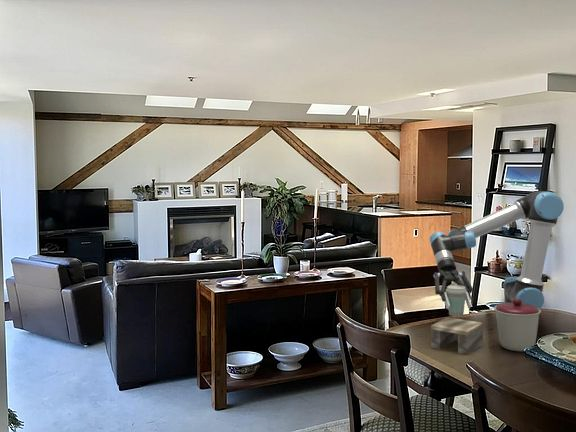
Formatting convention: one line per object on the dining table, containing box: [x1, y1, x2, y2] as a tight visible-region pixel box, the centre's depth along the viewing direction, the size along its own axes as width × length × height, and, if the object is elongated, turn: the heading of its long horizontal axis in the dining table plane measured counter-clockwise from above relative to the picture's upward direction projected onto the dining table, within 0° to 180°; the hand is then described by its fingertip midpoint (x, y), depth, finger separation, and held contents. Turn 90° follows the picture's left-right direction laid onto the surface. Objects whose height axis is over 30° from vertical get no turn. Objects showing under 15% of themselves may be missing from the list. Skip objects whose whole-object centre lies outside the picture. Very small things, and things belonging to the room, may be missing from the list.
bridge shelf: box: [430, 317, 484, 356], centre depth 235 cm, size 16×16×10 cm
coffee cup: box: [445, 284, 467, 317], centre depth 234 cm, size 8×9×12 cm
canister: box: [493, 298, 542, 352], centre depth 230 cm, size 18×18×21 cm
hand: (459, 306), depth 231 cm, fingers closed on coffee cup, 8 cm apart
